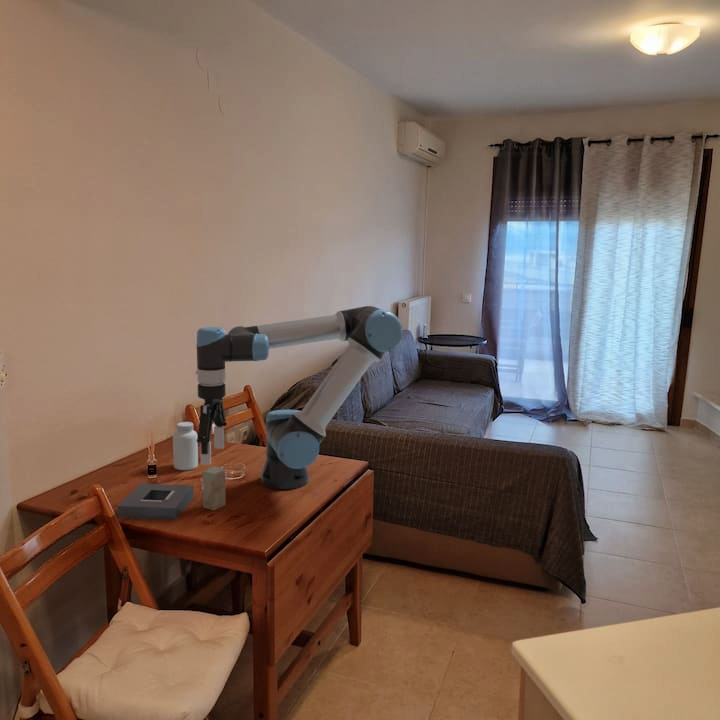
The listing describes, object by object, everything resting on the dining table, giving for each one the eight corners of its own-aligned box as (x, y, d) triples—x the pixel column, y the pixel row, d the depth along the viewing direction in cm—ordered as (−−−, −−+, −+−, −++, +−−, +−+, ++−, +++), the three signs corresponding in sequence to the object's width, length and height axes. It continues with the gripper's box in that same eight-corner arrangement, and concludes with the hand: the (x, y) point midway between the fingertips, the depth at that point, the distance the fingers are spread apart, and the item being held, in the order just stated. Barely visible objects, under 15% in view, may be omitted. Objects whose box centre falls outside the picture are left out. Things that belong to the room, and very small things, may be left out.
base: (193, 496, 185) (193, 484, 185) (175, 520, 170) (175, 507, 169) (140, 494, 186) (140, 482, 185) (118, 517, 170) (117, 505, 170)
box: (213, 511, 176) (212, 474, 174) (202, 507, 178) (201, 470, 176) (226, 504, 180) (225, 468, 178) (215, 501, 183) (215, 465, 180)
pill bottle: (203, 465, 211) (202, 423, 208) (185, 472, 204) (183, 428, 201) (187, 460, 215) (185, 419, 212) (168, 467, 208) (166, 424, 205)
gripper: (210, 373, 185) (211, 441, 189) (183, 393, 160) (185, 471, 164) (235, 374, 184) (236, 442, 188) (212, 394, 160) (213, 472, 164)
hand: (212, 456), depth 176 cm, fingers open, 13 cm apart
